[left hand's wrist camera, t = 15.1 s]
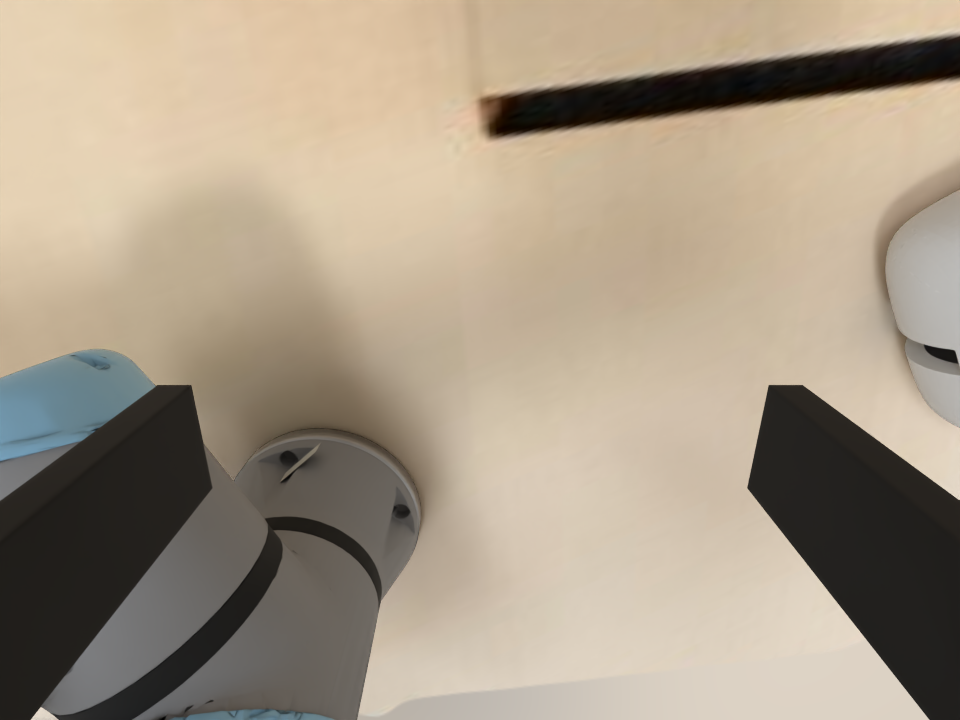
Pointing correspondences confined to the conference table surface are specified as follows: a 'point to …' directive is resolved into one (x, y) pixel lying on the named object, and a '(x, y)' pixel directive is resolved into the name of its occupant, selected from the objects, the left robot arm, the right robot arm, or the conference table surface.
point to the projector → (930, 301)
